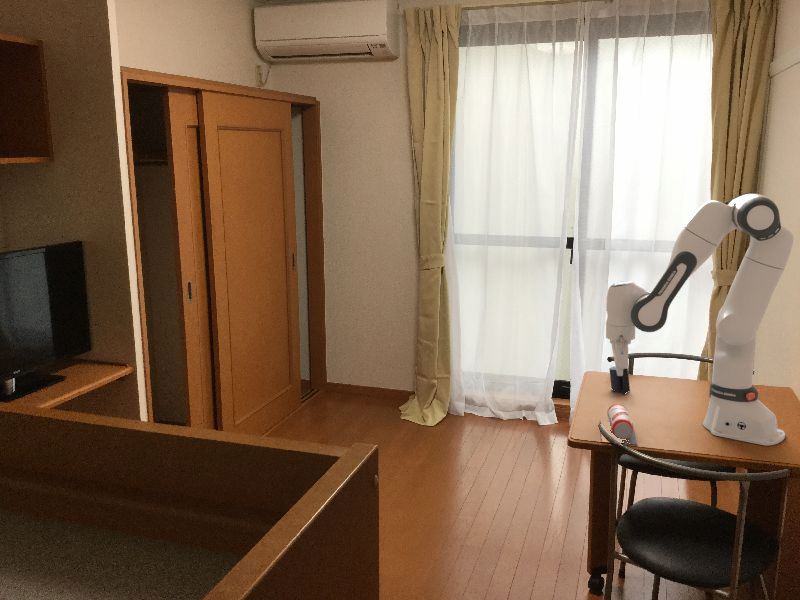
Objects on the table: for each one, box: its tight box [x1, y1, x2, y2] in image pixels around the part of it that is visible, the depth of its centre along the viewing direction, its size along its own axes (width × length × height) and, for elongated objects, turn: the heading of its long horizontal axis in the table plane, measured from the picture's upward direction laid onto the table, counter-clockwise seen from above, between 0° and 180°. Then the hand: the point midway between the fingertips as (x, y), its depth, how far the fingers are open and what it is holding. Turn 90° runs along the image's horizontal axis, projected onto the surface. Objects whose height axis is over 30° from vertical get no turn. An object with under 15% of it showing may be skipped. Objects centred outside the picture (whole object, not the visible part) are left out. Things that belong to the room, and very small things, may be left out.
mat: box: [610, 422, 638, 446], centre depth 210 cm, size 17×10×1 cm, turn 166°
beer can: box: [606, 403, 634, 439], centre depth 210 cm, size 6×6×16 cm
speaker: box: [609, 366, 631, 395], centre depth 248 cm, size 8×6×10 cm
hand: (619, 374), depth 220 cm, fingers closed
